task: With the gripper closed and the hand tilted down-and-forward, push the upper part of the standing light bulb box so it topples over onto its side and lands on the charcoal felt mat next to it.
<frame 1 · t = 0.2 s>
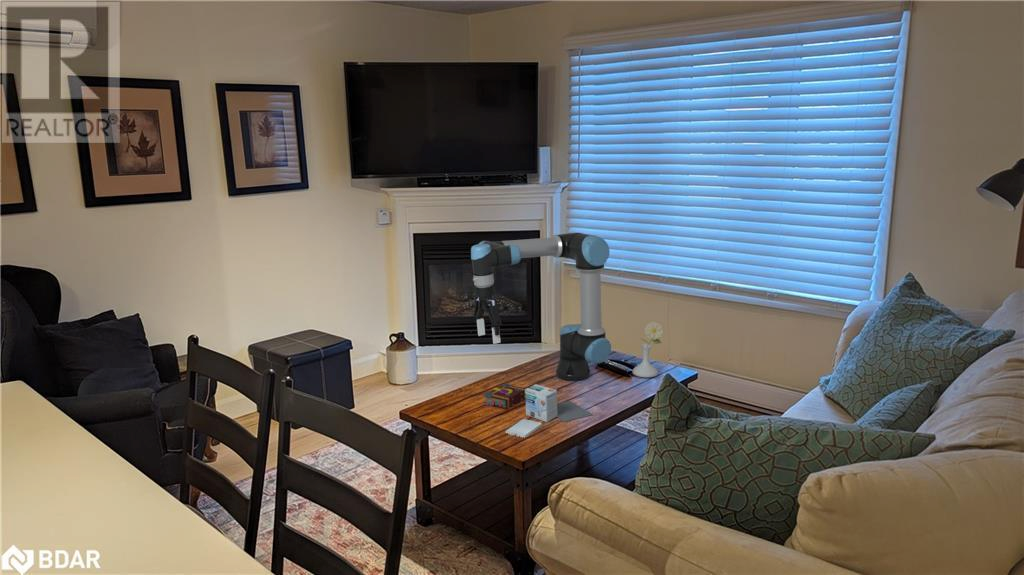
hand: (489, 339, 266), 28 cm above the table, tool pointing down, fingers open, 13 cm apart
flower in vase: (647, 376, 307), on the table
light bulb box: (541, 416, 263), on the table, touching felt mat
decorative book: (505, 402, 278), on the table
felt mat: (567, 411, 268), on the table
hard drive: (523, 431, 252), on the table
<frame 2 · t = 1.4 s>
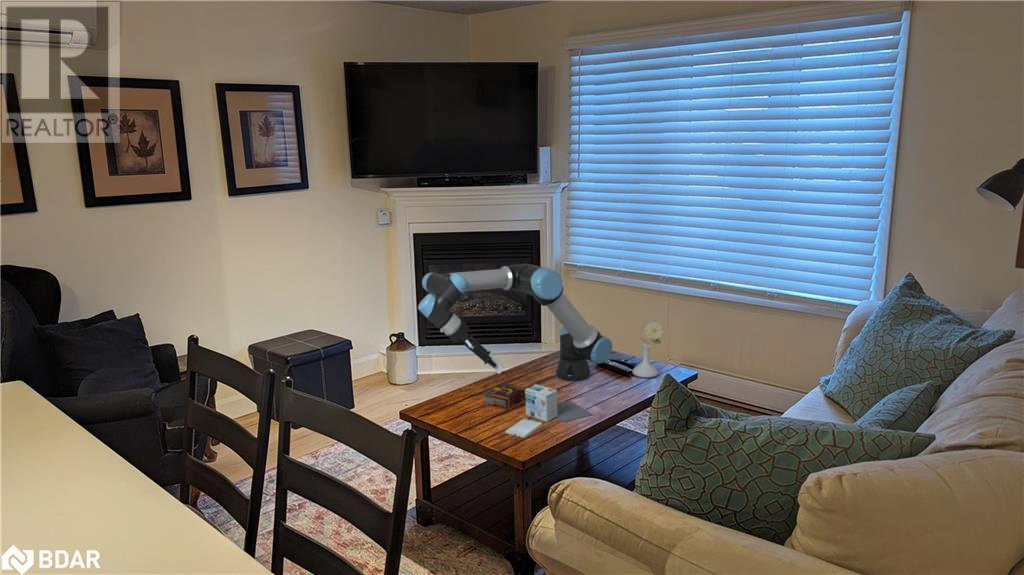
hand: (500, 369, 255), 20 cm above the table, tool tilted 45°, fingers open, 3 cm apart
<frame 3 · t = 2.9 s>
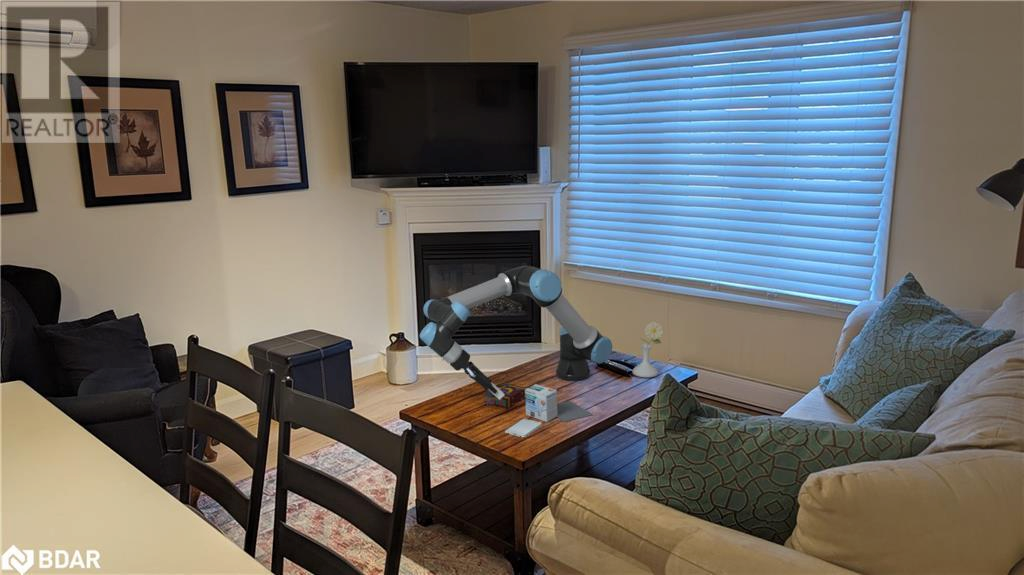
hand: (501, 396, 258), 10 cm above the table, tool tilted 45°, fingers closed
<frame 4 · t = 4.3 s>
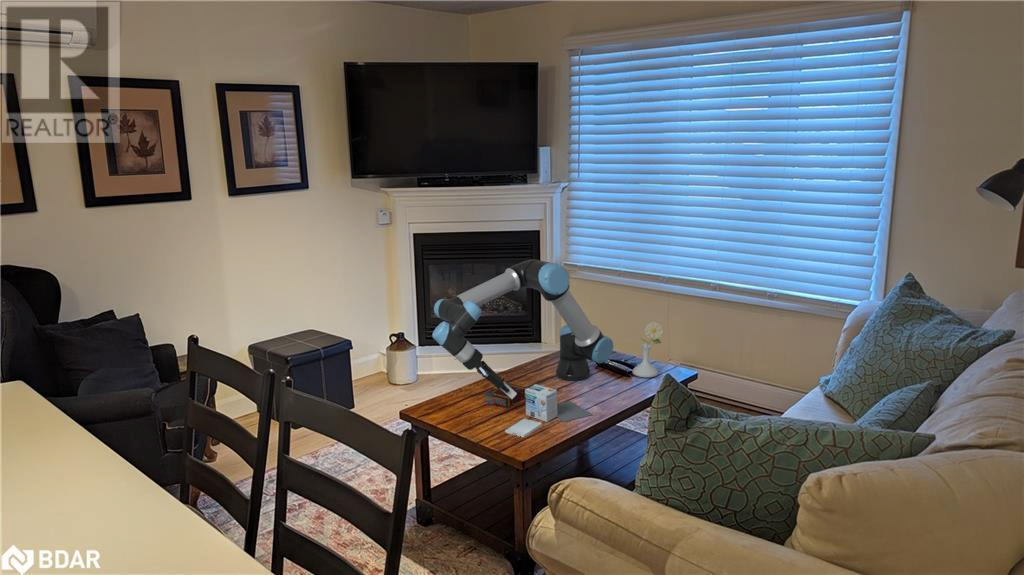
hand: (514, 395, 258), 10 cm above the table, tool tilted 45°, fingers closed
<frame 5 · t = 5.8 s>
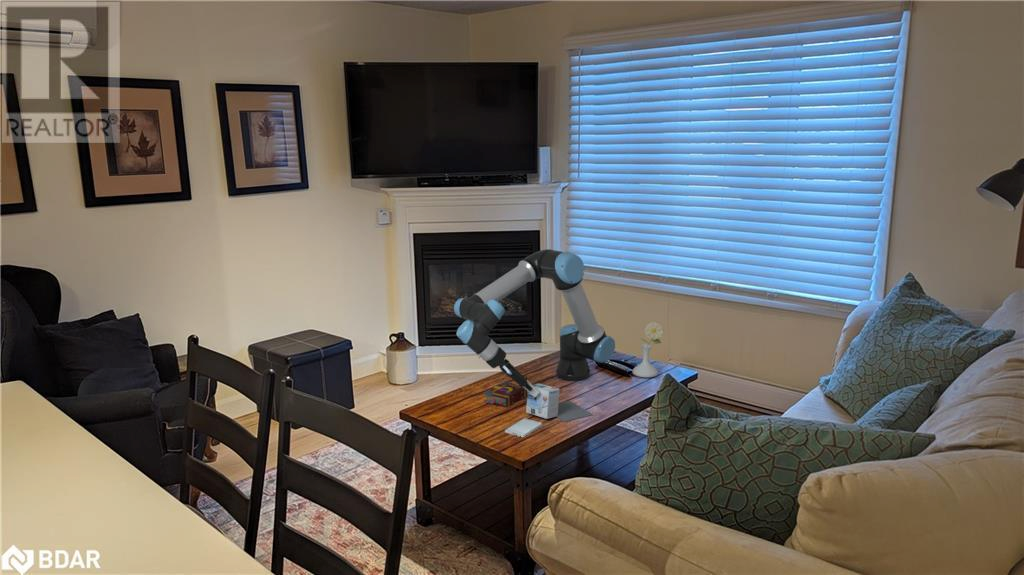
hand: (536, 394, 259), 10 cm above the table, tool tilted 45°, fingers closed
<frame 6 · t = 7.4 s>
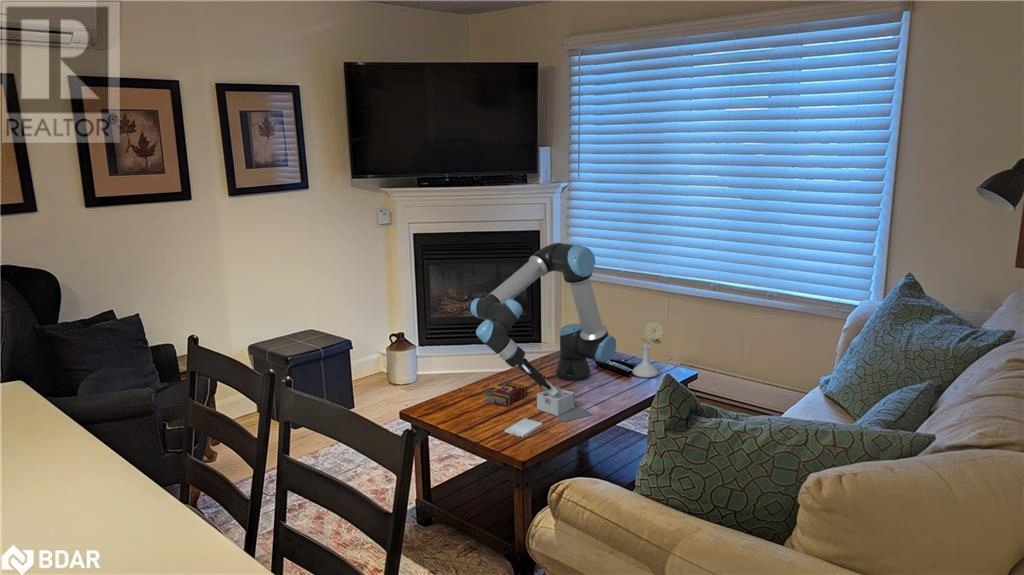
hand: (555, 392, 261), 10 cm above the table, tool tilted 45°, fingers closed
light bulb box: (546, 405, 265), point 4 cm above the table, touching felt mat
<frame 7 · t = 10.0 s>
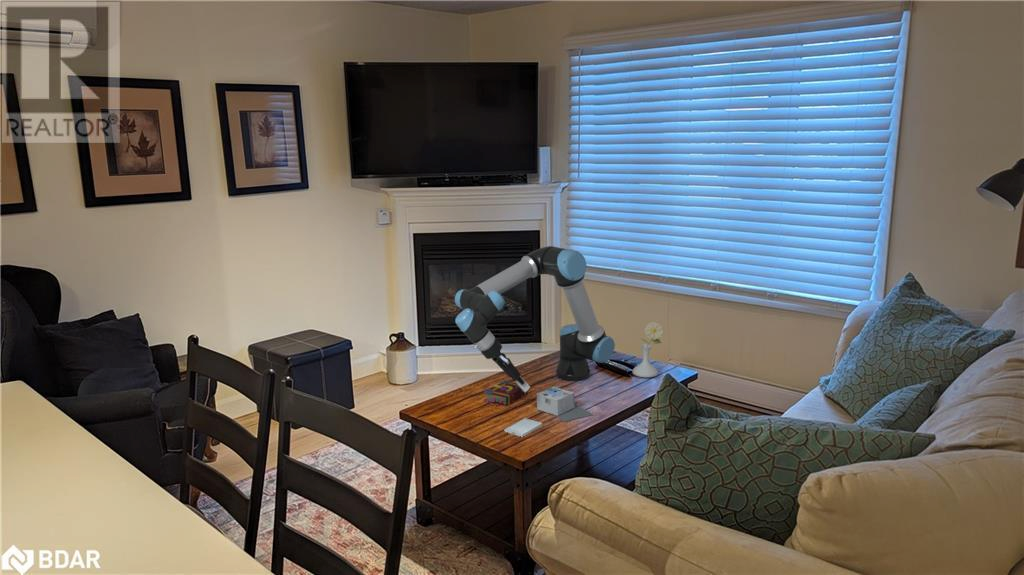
hand: (527, 389, 260), 11 cm above the table, tool tilted 40°, fingers closed
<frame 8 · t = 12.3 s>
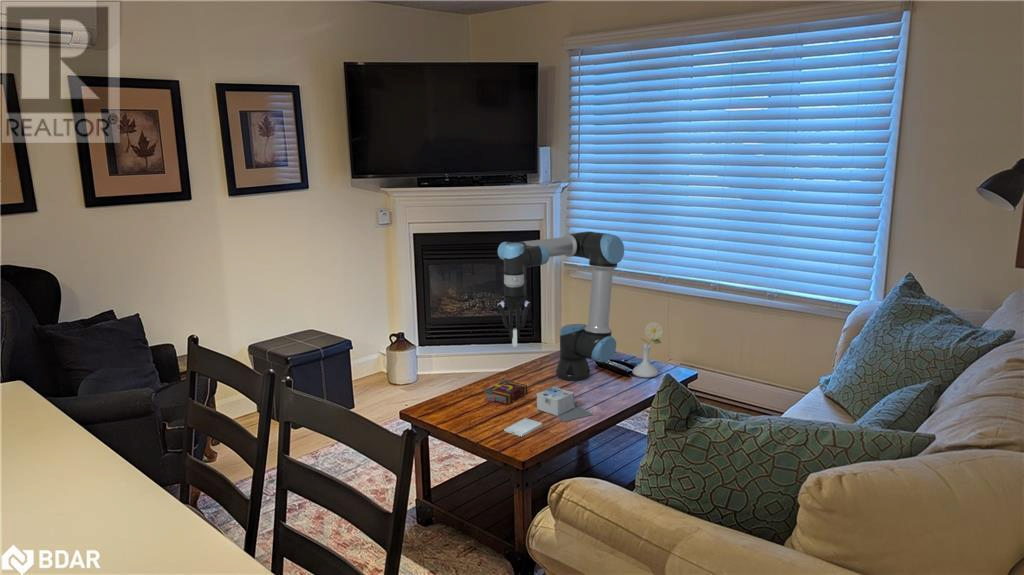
hand: (514, 345, 263), 26 cm above the table, tool pointing down, fingers closed
at the end: light bulb box tilted 89°; light bulb box inside the target area (5.1 cm from its centre), point 3.6 cm above the table; the gripper is holding nothing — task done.
